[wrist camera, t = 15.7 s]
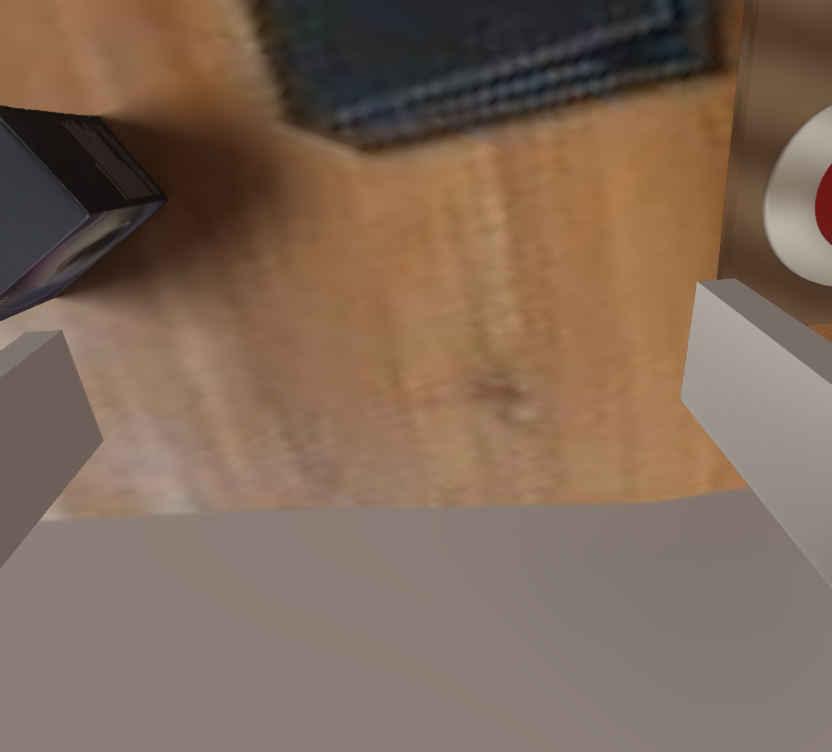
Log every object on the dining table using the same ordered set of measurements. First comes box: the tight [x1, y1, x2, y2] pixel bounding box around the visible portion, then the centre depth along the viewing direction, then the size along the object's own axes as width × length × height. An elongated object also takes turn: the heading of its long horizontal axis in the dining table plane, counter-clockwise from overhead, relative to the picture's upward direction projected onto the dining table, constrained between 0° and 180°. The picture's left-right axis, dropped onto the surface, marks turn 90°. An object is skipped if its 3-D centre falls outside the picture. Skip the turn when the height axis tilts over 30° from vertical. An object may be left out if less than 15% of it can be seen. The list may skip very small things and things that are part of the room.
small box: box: [0, 105, 168, 321], centre depth 32 cm, size 11×6×10 cm, turn 127°
